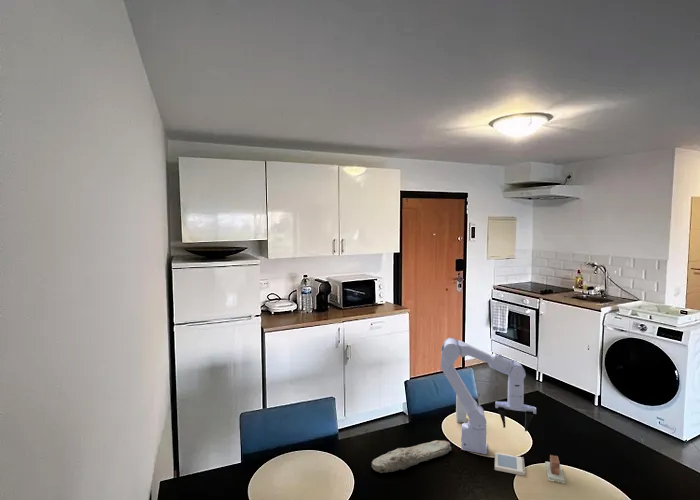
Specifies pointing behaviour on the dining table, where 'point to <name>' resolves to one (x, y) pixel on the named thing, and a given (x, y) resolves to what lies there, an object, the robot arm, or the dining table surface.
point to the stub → (554, 469)
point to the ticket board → (509, 463)
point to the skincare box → (460, 411)
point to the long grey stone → (410, 456)
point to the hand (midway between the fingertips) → (514, 428)
